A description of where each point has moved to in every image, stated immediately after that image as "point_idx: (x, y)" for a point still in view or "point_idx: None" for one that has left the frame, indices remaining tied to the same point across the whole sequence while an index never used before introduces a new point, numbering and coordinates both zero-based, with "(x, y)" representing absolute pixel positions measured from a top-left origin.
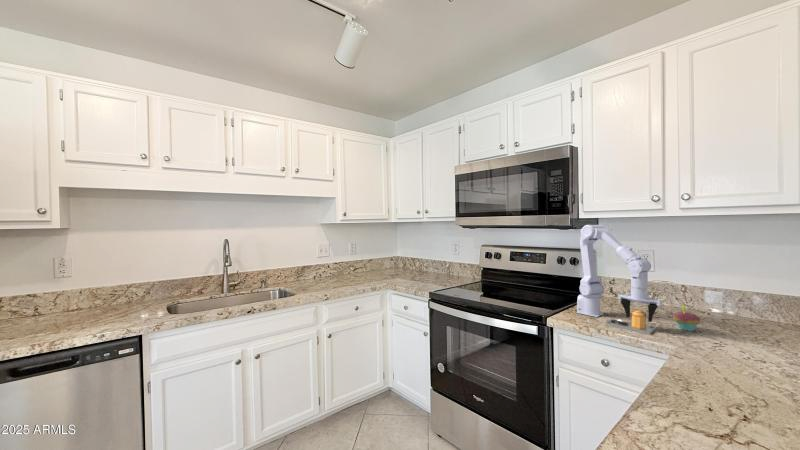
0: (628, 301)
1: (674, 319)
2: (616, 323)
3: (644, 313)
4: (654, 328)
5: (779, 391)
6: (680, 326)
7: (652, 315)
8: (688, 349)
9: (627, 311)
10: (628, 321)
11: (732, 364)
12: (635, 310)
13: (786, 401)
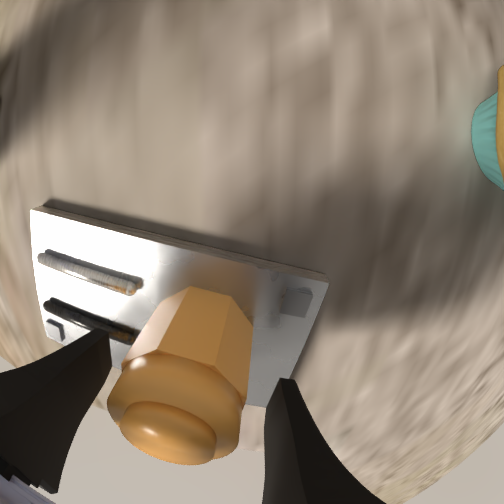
0: (32, 476)
1: (499, 160)
2: (82, 332)
3: (226, 448)
4: (311, 326)
5: (423, 487)
6: (488, 169)
7: (307, 425)
8: (380, 450)
9: (84, 411)
10: (120, 290)
11: (431, 459)
12: (133, 437)
13: (408, 498)
